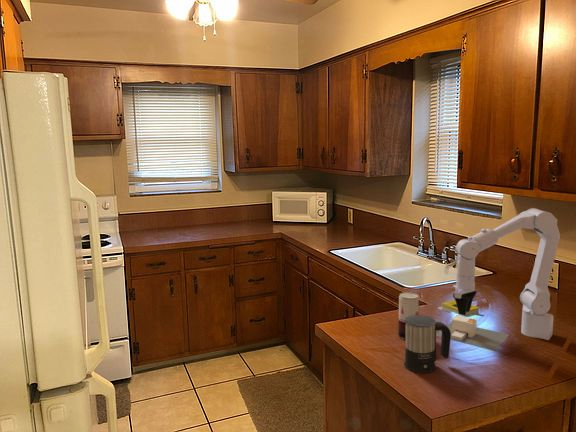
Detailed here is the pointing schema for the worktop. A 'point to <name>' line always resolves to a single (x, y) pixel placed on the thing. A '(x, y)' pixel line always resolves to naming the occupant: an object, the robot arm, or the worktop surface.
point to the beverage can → (406, 310)
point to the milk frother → (424, 343)
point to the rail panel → (478, 338)
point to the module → (464, 325)
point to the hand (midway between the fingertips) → (464, 312)
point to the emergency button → (452, 307)
